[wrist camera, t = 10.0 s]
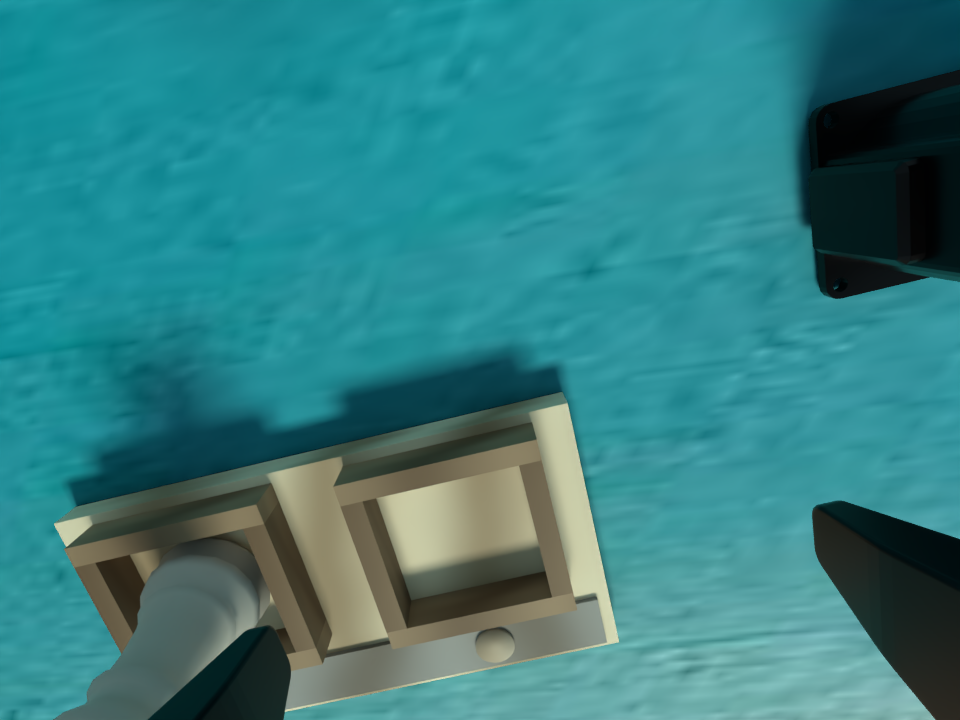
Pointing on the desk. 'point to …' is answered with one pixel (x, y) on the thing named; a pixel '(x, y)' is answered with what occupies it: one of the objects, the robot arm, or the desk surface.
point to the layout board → (384, 550)
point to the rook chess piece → (179, 628)
